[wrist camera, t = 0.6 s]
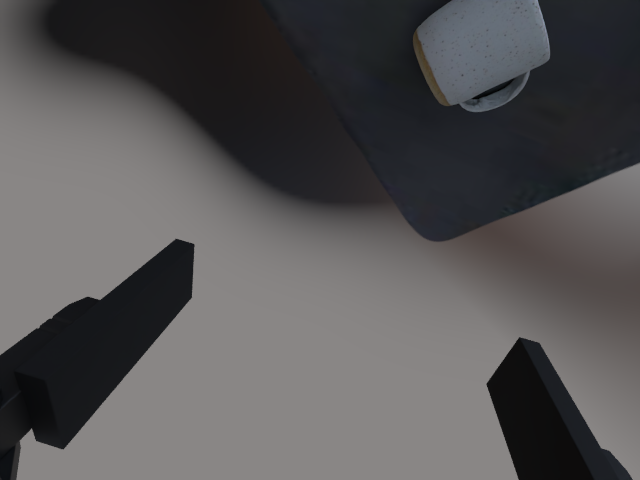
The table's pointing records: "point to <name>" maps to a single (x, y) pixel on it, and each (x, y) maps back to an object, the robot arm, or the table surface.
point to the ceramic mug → (481, 50)
